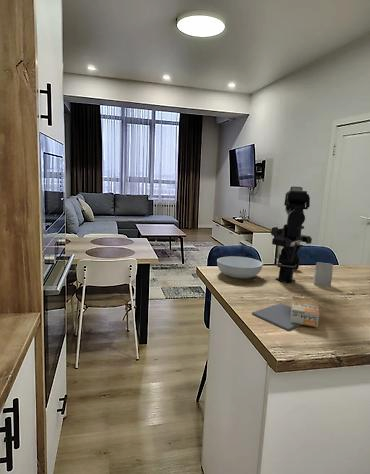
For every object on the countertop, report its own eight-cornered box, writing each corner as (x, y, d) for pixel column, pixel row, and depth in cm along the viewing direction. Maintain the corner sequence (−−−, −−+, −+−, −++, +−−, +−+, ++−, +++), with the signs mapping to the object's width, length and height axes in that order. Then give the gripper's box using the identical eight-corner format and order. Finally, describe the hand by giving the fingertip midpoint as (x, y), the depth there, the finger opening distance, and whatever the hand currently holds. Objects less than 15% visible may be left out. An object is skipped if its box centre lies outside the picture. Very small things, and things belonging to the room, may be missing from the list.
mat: (280, 304, 121) (280, 303, 121) (316, 318, 110) (316, 317, 110) (251, 314, 111) (252, 312, 111) (287, 330, 100) (288, 328, 100)
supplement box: (317, 299, 113) (320, 313, 101) (315, 312, 114) (318, 328, 102) (291, 295, 115) (292, 308, 103) (290, 308, 116) (290, 323, 104)
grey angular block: (330, 287, 145) (333, 265, 143) (314, 285, 147) (317, 263, 145) (329, 284, 149) (332, 263, 147) (313, 282, 150) (316, 261, 148)
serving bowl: (245, 268, 168) (247, 255, 166) (270, 281, 148) (272, 266, 147) (208, 270, 160) (209, 256, 159) (229, 284, 141) (230, 268, 140)
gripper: (290, 219, 141) (286, 254, 144) (262, 220, 129) (258, 259, 132) (314, 223, 133) (309, 260, 135) (287, 225, 121) (282, 266, 124)
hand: (289, 261), depth 132 cm, fingers closed
